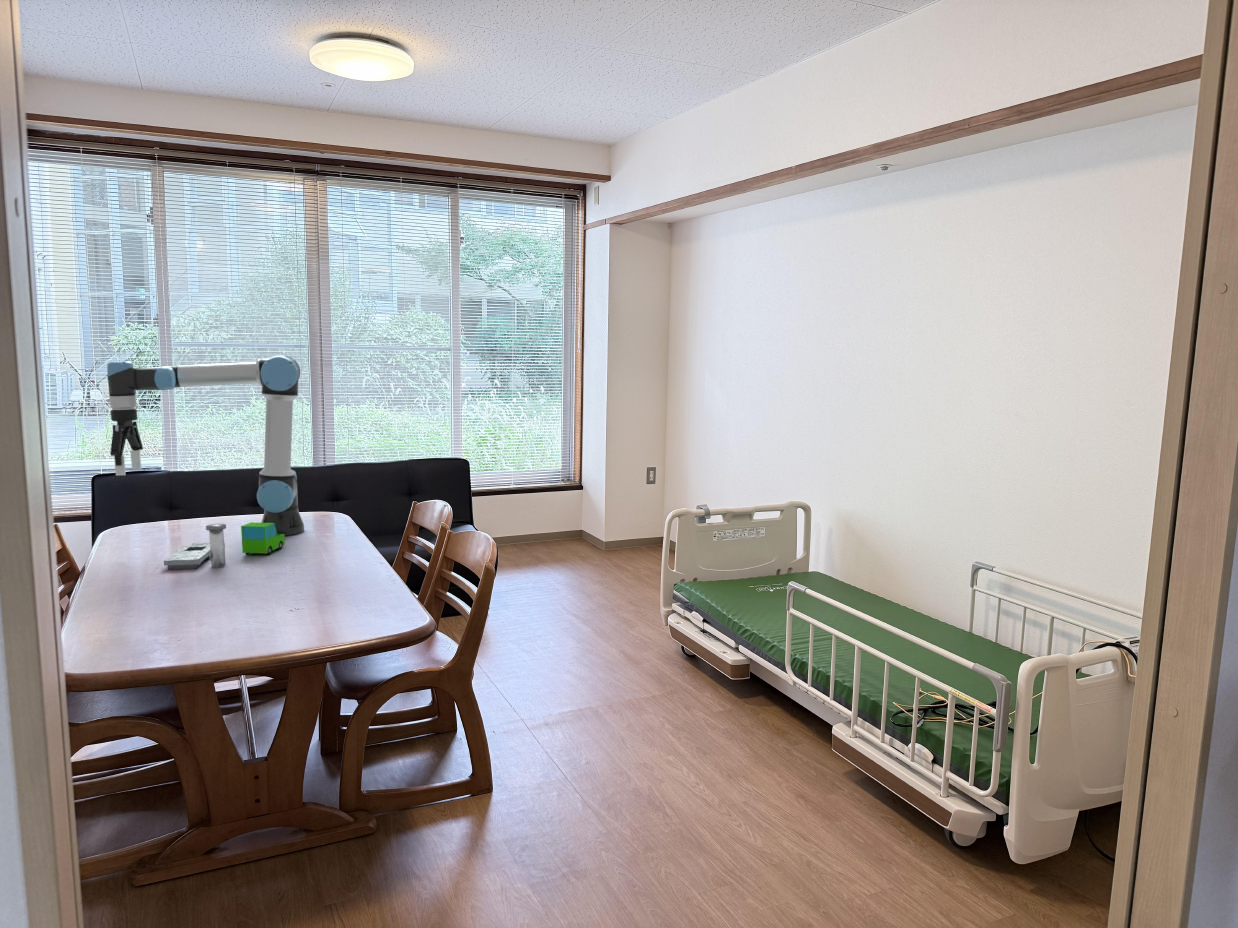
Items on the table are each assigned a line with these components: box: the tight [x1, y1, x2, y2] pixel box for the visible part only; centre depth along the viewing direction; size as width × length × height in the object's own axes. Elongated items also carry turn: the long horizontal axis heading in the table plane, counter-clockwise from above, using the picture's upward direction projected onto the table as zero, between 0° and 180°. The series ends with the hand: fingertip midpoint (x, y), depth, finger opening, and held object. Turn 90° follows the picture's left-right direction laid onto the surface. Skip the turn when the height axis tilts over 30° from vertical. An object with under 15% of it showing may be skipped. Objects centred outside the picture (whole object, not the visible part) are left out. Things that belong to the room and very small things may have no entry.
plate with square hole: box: [163, 541, 226, 571], centre depth 277 cm, size 10×30×3 cm, turn 11°
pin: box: [205, 523, 227, 569], centre depth 265 cm, size 6×6×13 cm
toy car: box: [240, 522, 286, 556], centre depth 285 cm, size 10×13×10 cm
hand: (128, 472), depth 286 cm, fingers open, 13 cm apart
